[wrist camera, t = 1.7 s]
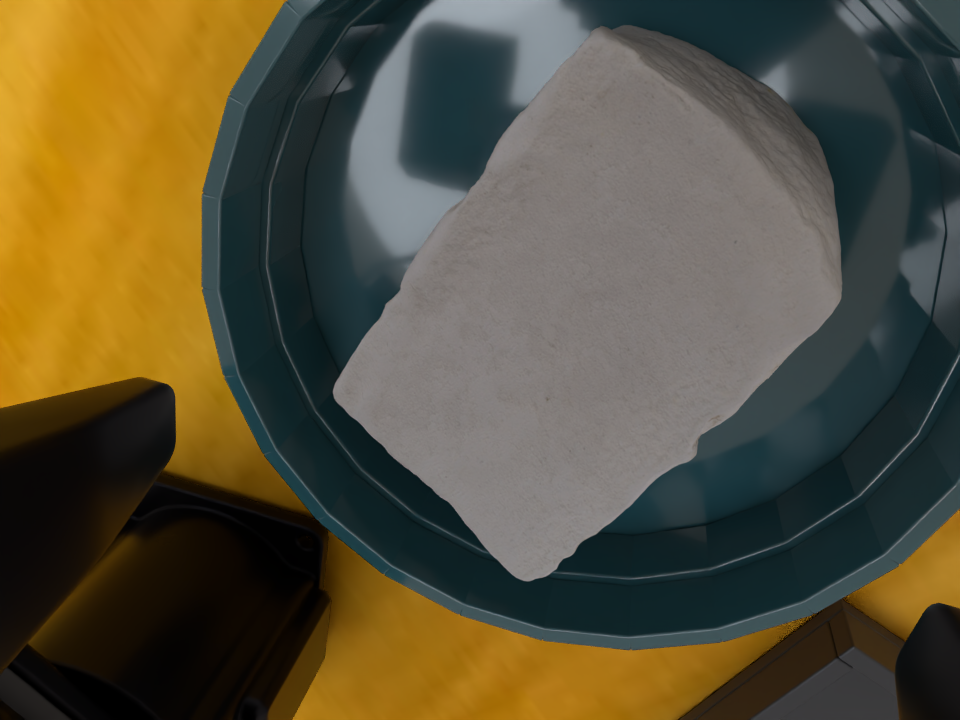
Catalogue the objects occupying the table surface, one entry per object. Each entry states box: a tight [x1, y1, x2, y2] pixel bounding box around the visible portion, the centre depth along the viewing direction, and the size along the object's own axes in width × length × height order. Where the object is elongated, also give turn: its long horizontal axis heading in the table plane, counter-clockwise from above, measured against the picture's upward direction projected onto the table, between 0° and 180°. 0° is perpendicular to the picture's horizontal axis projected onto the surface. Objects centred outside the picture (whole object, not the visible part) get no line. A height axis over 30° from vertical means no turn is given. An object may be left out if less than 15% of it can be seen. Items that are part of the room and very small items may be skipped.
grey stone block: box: [333, 25, 842, 581], centre depth 15 cm, size 10×6×6 cm, turn 140°
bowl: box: [202, 0, 960, 650], centre depth 15 cm, size 14×14×4 cm
